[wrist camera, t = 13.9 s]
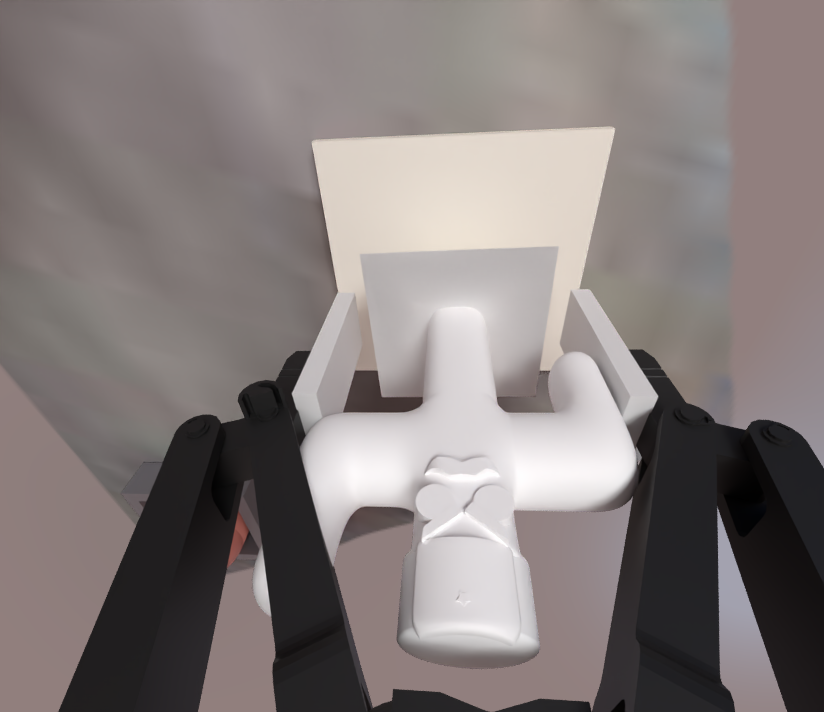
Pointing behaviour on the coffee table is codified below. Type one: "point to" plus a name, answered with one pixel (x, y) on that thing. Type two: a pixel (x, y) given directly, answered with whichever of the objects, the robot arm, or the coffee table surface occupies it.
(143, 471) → the housing
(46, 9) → the coffee table surface
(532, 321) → the white faucet
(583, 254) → the game square
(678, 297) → the coffee table surface
